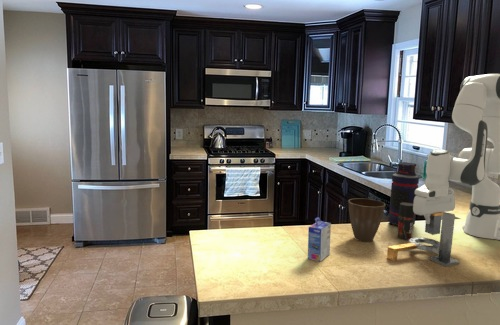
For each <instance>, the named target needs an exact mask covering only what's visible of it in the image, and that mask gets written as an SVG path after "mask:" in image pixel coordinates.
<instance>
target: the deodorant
mask: <svg viewBox="0 0 500 325" xmlns="http://www.w3.org/2000/svg"><path fill="white" fill-rule="evenodd" d="M413 220H414V212H413V204H412V203H405V202H403V203H400V210H399V221H398V225H397V234H396V238H397V239H399V240H403V241H409V239H410V238H413V228H414V226H413Z"/></svg>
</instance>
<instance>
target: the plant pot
mask: <svg viewBox="0 0 500 325" xmlns="http://www.w3.org/2000/svg"><path fill="white" fill-rule="evenodd" d="M385 208H386V204H385V202H383V201H381V200H378V199H377V200H376V199H371V198H358V197H357V198H351V199H348V212H349V222H350V224H351V230H352V233H353V236H354V239H355V240H356V241H359V242H366V243H369V242H372V241H373V240H374V238H375V237H376V234H377V232H378V231H379V227H380V225H381V222H382V220H383V215H384V212H385Z"/></svg>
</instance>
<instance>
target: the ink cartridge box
mask: <svg viewBox="0 0 500 325" xmlns="http://www.w3.org/2000/svg"><path fill="white" fill-rule="evenodd" d="M314 221H315V223H313V224H311V225H310V226H309V227H308V233H307V234H308V236H307V237H308V238H307V239H308V240H307V241H308V242H307V259H308V260H312V261H316V262H322V261H323V260H324V259H325V258H326V257H328V256H329V255H330V253H331V236H332V235H331V232H332V231H331V229H332V223H331V222H327V221H323V220H321V219H320V217H319V216H317V217H315V218H314Z"/></svg>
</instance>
